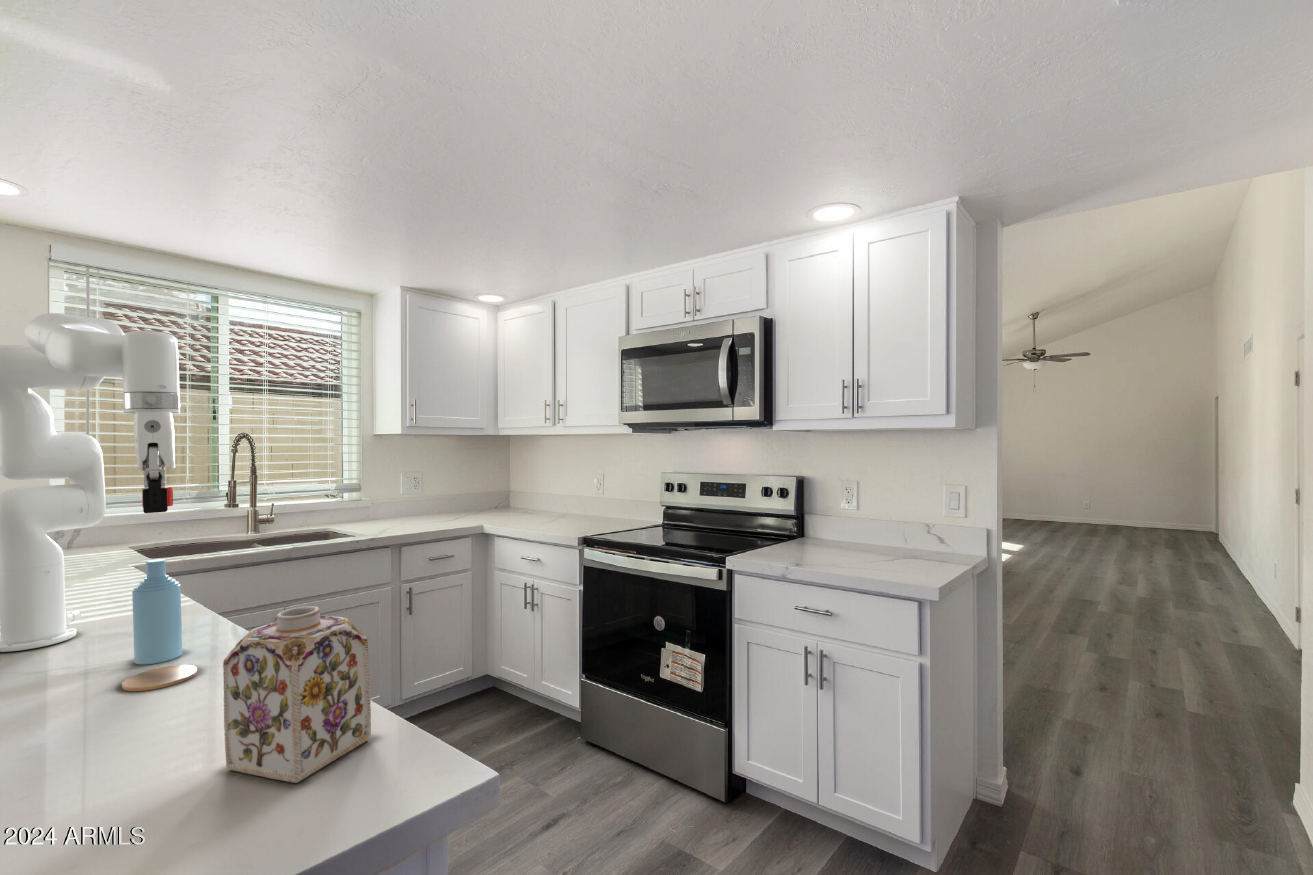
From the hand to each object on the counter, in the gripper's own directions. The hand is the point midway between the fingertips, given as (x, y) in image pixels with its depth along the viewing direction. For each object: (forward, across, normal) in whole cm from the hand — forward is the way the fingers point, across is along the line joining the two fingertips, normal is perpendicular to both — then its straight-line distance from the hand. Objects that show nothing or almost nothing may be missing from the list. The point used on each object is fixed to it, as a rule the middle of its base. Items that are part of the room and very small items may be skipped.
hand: (155, 510), depth 109 cm
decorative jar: (+29, -48, -14) cm, 58 cm away
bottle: (+28, +11, 0) cm, 30 cm away
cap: (-1, 0, 0) cm, 1 cm away
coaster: (+28, -3, 0) cm, 28 cm away
